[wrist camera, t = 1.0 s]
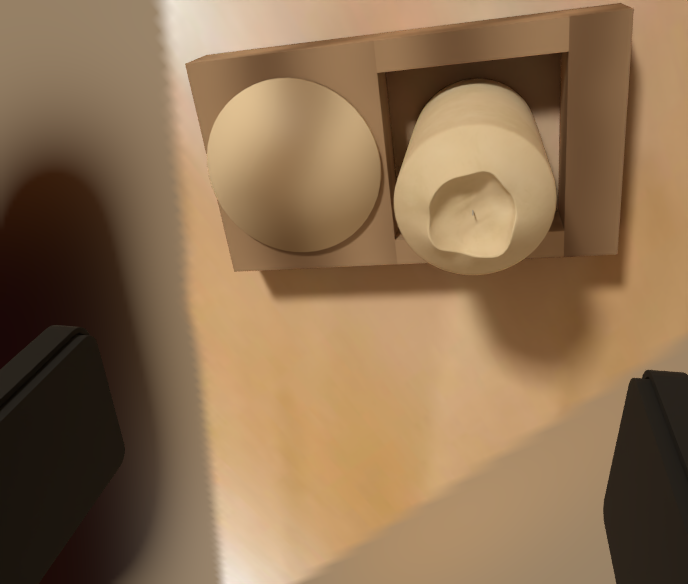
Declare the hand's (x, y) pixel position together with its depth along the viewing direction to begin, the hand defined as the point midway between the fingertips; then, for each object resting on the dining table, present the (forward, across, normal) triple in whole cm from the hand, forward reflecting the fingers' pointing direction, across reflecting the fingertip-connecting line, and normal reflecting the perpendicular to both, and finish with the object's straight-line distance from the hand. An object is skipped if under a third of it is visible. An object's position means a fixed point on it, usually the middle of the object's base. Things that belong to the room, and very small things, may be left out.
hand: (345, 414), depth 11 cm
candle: (+21, -2, +1) cm, 21 cm away
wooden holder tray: (+21, +1, +1) cm, 21 cm away
